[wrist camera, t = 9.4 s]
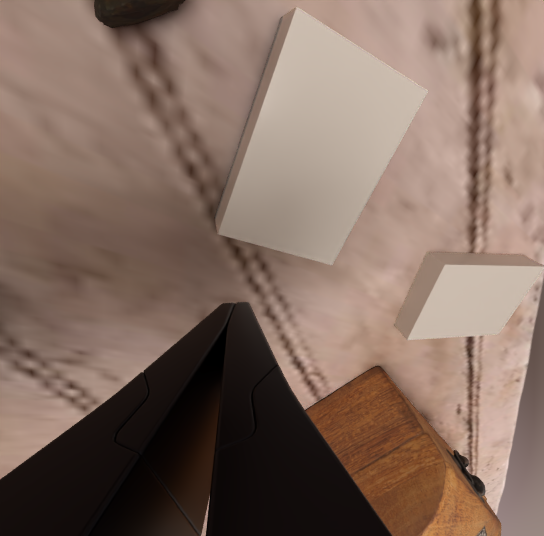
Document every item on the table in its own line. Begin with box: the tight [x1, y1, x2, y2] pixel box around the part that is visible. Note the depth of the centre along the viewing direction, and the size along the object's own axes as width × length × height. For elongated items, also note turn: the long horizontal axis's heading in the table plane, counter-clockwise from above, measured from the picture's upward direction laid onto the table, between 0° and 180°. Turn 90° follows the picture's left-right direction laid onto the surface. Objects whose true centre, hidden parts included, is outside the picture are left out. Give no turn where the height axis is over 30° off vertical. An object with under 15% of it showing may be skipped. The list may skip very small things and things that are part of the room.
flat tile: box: [215, 7, 428, 265], centre depth 18 cm, size 11×8×3 cm
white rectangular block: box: [394, 252, 544, 340], centre depth 28 cm, size 3×8×11 cm
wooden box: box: [306, 366, 501, 536], centre depth 35 cm, size 30×16×14 cm, turn 35°
